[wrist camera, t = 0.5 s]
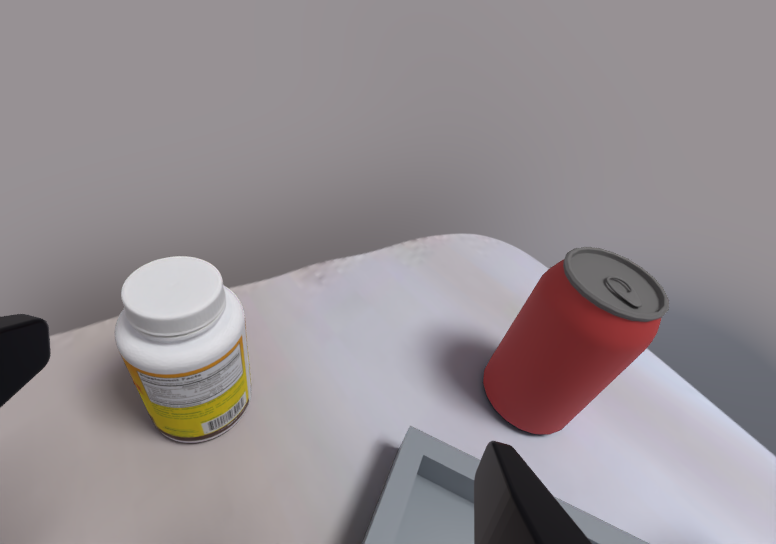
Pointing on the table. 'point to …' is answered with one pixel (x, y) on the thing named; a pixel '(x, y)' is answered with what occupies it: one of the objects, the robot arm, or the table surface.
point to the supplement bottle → (185, 347)
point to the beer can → (573, 338)
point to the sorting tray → (447, 499)
